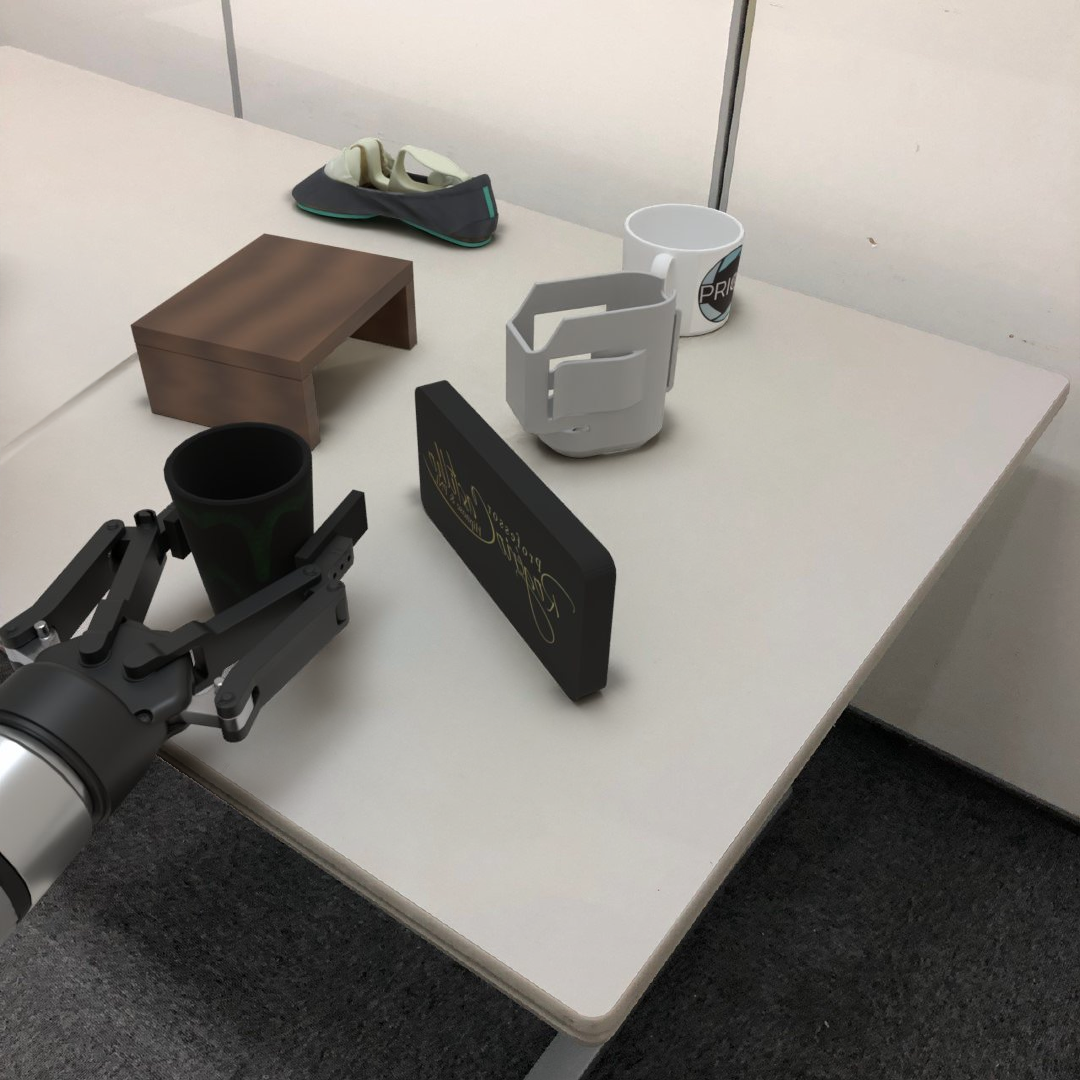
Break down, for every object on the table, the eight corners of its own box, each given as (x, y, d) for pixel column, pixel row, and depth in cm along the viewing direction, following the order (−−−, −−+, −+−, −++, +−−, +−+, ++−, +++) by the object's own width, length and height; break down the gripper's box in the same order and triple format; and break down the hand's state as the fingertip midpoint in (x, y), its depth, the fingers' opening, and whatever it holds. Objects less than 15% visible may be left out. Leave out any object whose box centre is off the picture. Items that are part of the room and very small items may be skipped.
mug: (636, 278, 102) (643, 196, 97) (743, 298, 99) (756, 214, 94) (591, 340, 92) (596, 252, 87) (709, 364, 90) (721, 274, 84)
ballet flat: (324, 186, 119) (316, 111, 114) (515, 229, 111) (515, 150, 105) (278, 211, 113) (267, 133, 108) (476, 259, 105) (474, 176, 100)
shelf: (151, 412, 82) (130, 324, 77) (276, 313, 95) (264, 232, 90) (311, 451, 78) (298, 362, 73) (417, 342, 91) (412, 260, 87)
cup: (252, 569, 68) (221, 408, 60) (357, 602, 65) (338, 439, 58) (176, 647, 62) (131, 481, 55) (288, 686, 60) (257, 518, 52)
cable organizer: (502, 432, 81) (502, 286, 73) (650, 406, 84) (665, 263, 76) (530, 481, 76) (534, 330, 68) (687, 451, 79) (707, 304, 72)
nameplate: (605, 695, 60) (618, 560, 54) (577, 707, 59) (586, 572, 53) (446, 499, 74) (440, 373, 68) (421, 507, 73) (413, 380, 67)
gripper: (-121, 765, 52) (165, 503, 68) (243, 903, 46) (457, 582, 63) (-184, 656, 47) (140, 404, 64) (214, 796, 42) (453, 480, 58)
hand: (297, 493), depth 63 cm, fingers closed on cup, 8 cm apart
